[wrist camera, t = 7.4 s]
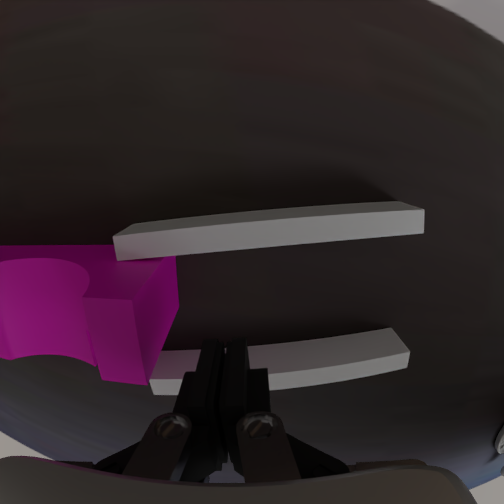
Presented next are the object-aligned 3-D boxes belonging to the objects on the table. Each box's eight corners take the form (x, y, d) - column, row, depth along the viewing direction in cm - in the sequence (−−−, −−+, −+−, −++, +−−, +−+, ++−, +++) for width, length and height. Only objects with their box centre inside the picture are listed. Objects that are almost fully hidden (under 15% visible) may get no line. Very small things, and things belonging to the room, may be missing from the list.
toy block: (6, 322, 19) (-50, 371, 12) (-12, 245, 17) (-82, 279, 10) (183, 340, 19) (157, 426, 12) (175, 243, 17) (132, 300, 10)
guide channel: (389, 342, 19) (407, 367, 16) (164, 365, 19) (153, 394, 16) (398, 201, 17) (424, 209, 14) (133, 223, 17) (112, 236, 14)
